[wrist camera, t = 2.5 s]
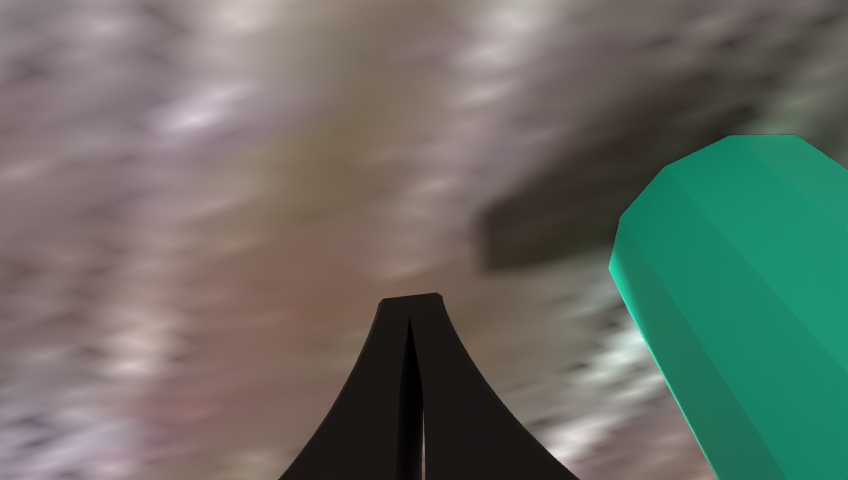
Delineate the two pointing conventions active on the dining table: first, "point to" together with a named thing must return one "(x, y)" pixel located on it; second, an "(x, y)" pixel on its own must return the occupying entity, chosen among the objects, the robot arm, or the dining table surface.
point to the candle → (747, 302)
